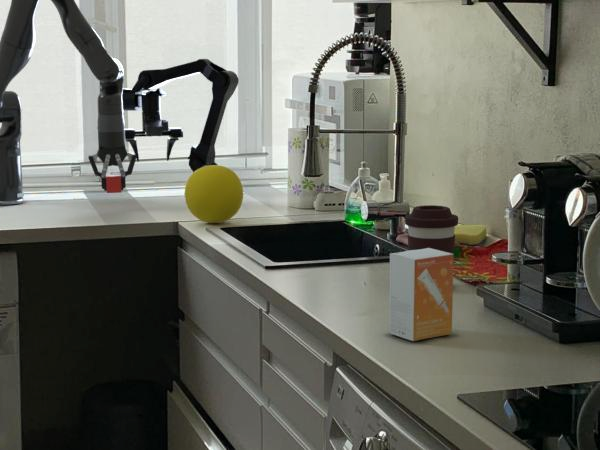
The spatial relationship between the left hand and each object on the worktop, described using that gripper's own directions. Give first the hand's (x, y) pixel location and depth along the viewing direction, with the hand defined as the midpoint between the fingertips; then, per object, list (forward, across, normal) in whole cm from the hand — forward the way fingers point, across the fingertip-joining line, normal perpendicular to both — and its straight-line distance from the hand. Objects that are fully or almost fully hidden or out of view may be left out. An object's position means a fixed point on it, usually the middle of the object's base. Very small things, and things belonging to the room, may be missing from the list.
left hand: (113, 190), depth 297 cm
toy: (+6, +24, -31) cm, 40 cm away
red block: (0, 0, 0) cm, 0 cm away
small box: (+6, +39, -147) cm, 153 cm away
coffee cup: (+6, +53, -116) cm, 128 cm away
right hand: (-5, +14, +28) cm, 31 cm away
